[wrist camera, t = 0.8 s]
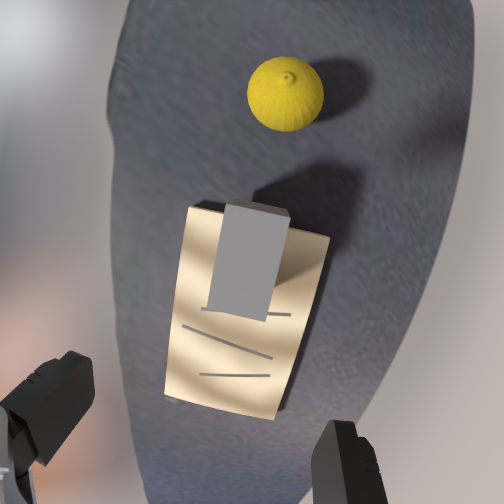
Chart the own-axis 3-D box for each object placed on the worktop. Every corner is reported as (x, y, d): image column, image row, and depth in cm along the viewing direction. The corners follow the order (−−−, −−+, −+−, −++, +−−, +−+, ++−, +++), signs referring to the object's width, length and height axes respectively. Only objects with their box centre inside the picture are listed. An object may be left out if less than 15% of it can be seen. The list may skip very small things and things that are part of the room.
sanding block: (238, 198, 25) (226, 203, 19) (287, 209, 25) (290, 217, 19) (222, 279, 27) (206, 308, 20) (268, 290, 27) (265, 322, 20)
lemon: (273, 68, 24) (271, 27, 16) (328, 100, 24) (347, 68, 16) (239, 117, 25) (223, 91, 17) (295, 150, 25) (302, 136, 17)
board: (192, 206, 27) (188, 207, 26) (327, 235, 26) (330, 238, 25) (167, 388, 31) (164, 394, 30) (273, 413, 31) (273, 420, 30)
